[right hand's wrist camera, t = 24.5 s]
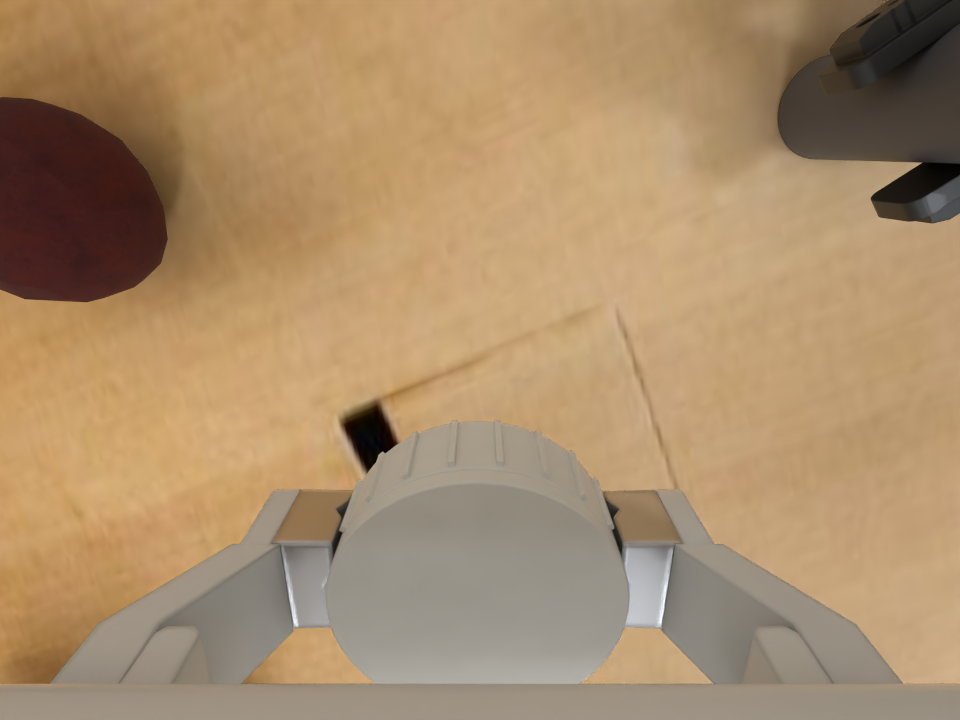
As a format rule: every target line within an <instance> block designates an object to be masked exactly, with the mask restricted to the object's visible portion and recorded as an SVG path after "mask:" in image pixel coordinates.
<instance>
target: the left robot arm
mask: <svg viewBox="0 0 960 720" xmlns="http://www.w3.org/2000/svg"><path fill="white" fill-rule="evenodd" d="M958 24H960V0H889V1H887V2H886V3H885V4H883V5H882V6H880V7H879V8H877V9H876V10H875V11H874V12H872V13H870V14H869V15H867V16H866V17H865V18H863V19H862V20H861V21H859V22H858V23H856V24H855V25H853V26H852V27H850V28H849V29H848V30H846V31H845V32H843V33H842V34H841V35H840V37H839V38H838V39H837V41H836V42H835V43H834V45H833V46H832V47H831V49H830V52H831V55H832V57H833V59H834V63H832V64H831V65H829V66H828V67H826V68H825V69H824V70H822V71H821V72H820V73H819V74H818V75H817V76H818V79H819V81H820V83H821V86H822V88H823V90H824V92H825V95H833V94H839V93H844V92H850V91H855V90H858V89H861V88H863V87H865V86H867V85H869V84H871V83H873V82H875V81H876V80H878V79H879V78H881V77H882V76H884V75H885V74H887V73H888V72H890V71H891V70H893V69H894V68H896V67H897V66H899V65H900V64H902V63H903V62H904V61H906V60H907V59H909V58H910V57H912V56H913V55H915V54H916V53H918V52H919V51H921V50H922V49H924V48H925V47H927V46H928V45H930V44H931V43H933V42H934V41H936V40H937V39H939V38H940V37H941V36H943V35H944V34H946V33H947V32H949V31H950V30H951V29H953V28H954V27H955V26H957V25H958ZM871 201H872V203H873V205H874V208H875V210H876V212H877V214H878V216H879V217H881V218H888V219H895V220H902V221H919V222H926V223H936V222H940V221H945V220H949V219H951V218H953V217H954V216H956V215H957V214H959V213H960V164H958V163H924V162H923V163H921V164H920V165H918V166H917V167H915V168H914V169H912V170H910V171H909V172H907V173H906V174H904V175H903V176H901V177H899V178H898V179H896V180H895V181H893V182H892V183H890V184H888V185H887V186H885V187H884V188H882V189H881V190H879V191H877V192H876V193H875V194H874V195H873V196H872V197H871Z"/></svg>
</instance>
